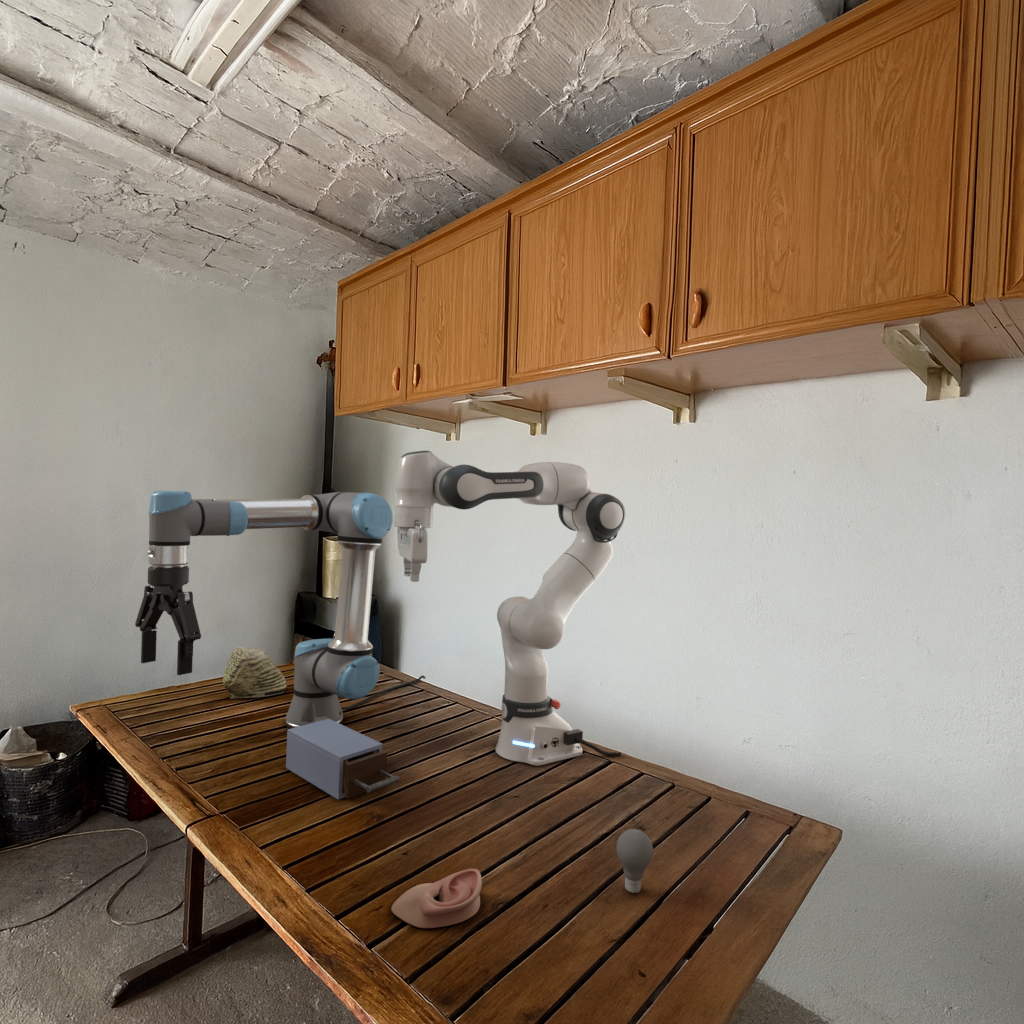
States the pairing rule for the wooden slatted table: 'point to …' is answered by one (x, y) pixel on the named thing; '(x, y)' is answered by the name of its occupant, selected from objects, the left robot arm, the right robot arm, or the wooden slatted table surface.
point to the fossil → (252, 674)
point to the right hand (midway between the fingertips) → (411, 578)
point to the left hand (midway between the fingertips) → (165, 667)
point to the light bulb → (634, 857)
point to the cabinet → (325, 753)
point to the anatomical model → (441, 901)
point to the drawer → (366, 773)
